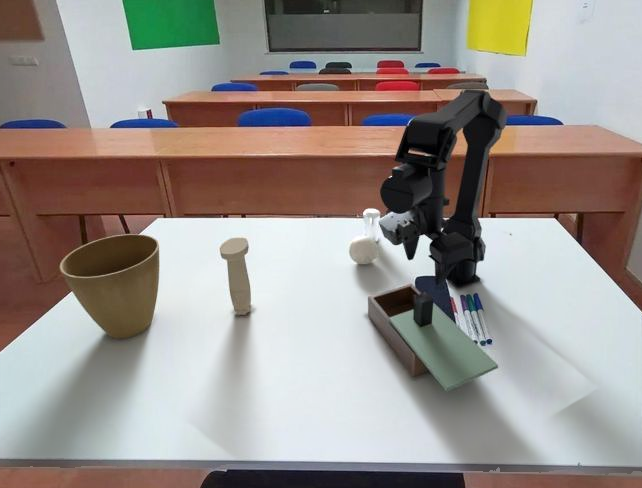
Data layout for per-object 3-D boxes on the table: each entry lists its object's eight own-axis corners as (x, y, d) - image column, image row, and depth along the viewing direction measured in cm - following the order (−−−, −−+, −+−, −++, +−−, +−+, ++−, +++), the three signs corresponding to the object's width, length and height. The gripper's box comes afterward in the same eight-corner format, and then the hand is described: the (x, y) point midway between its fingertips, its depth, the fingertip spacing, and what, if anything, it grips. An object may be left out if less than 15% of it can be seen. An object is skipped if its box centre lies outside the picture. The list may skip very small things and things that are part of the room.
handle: (258, 301, 83) (250, 237, 77) (251, 321, 77) (242, 253, 71) (235, 301, 82) (226, 237, 77) (226, 322, 76) (215, 254, 71)
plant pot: (63, 342, 71) (37, 266, 66) (135, 295, 84) (119, 228, 79) (124, 364, 66) (101, 284, 61) (190, 311, 79) (177, 240, 74)
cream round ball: (369, 272, 93) (369, 247, 90) (344, 264, 96) (343, 239, 94) (383, 260, 98) (384, 236, 96) (359, 252, 102) (359, 229, 99)
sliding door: (433, 305, 74) (435, 279, 72) (498, 368, 60) (502, 338, 58) (388, 320, 70) (389, 293, 68) (446, 391, 56) (449, 360, 54)
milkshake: (381, 245, 105) (381, 211, 102) (361, 243, 106) (361, 209, 103) (384, 237, 109) (384, 204, 106) (365, 235, 110) (365, 203, 107)
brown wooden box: (410, 301, 82) (411, 283, 81) (462, 356, 68) (464, 335, 67) (367, 315, 78) (367, 296, 77) (413, 376, 64) (414, 354, 62)
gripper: (360, 183, 71) (362, 258, 76) (418, 224, 55) (414, 315, 61) (412, 173, 75) (410, 245, 81) (479, 208, 60) (471, 294, 66)
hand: (424, 271), depth 72 cm, fingers open, 9 cm apart
